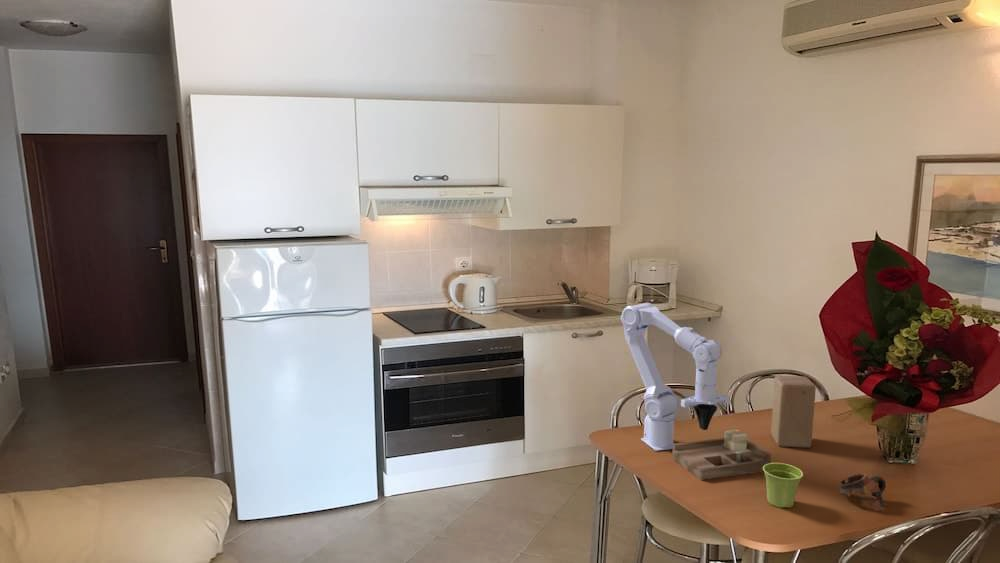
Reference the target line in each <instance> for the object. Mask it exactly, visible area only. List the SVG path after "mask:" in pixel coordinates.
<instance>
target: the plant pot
mask: <svg viewBox="0 0 1000 563" xmlns="http://www.w3.org/2000/svg"><path fill="white" fill-rule="evenodd" d="M763 471H764V477H765V481H766V482H765V484H766V500H767V501H768V503H769V504H770V505H771V506H774V507H776V508H780V509H781V508H783V509H784V508H788V509H789V508H792V507H793V506H794V503H795V499H796V495H797V491H798V487H799V483H800V482H801V480H802V478H803V477H804V472H803V471H802V469H800V468H798V467H796V466H794V465H791V464H787V463H782V462H770V463H769V464H766V465H764V466H763Z"/></svg>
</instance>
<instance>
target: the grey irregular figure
mask: <svg viewBox="0 0 1000 563" xmlns="http://www.w3.org/2000/svg"><path fill="white" fill-rule="evenodd" d="M846 480H847V481H846ZM846 480H845V479H842V480H841V481H839V483H838V485H839V488H840V489H839V494H840V495H846V496H847V497H849V498H851V497H852V496H851V494H852V492H853V491H854V492H855V493H858V494H859V495H865V492H864V489H865V488H864V487H866V488H867V490H868V491H869V492H870V493H871V495H872V497H874V498H876V500H874V501H873V502H872V503H871V505H872V507H873V510H874V512H878V511H881V509H883V508H884V506H885V504H884V500H883V496H882V494H883V493H884V492H885V490H886V487H887V486H886V485H887V483H886V481H885V479H884V478H883V477H882V476H880V475H875V476H872V477H869V476H868V474H867V473H862V472H861V473H857V474H854V475H850V476H848V477H847V478H846Z"/></svg>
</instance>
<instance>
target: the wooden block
mask: <svg viewBox="0 0 1000 563" xmlns="http://www.w3.org/2000/svg"><path fill="white" fill-rule="evenodd" d="M773 382H774V383H773V397H772V410H771V411H772V412H771V428H770V434H771V437H772V438H773V440H774V441H775V444H776V445H777V446H778V447H786V448H787V447H789V448H791V447H792V448H803V449H804V448H805V449H808V448H811V446H812V441H813V439H812V438H813V428H814V418H815V415H814V414H815V413H814V412H815V401H816V391H817V390H816V385H815V384H814V383H813V382H812V381H811V380H810V379H809V378H808V377H807V376H803V375H799V376H798V375H776V376H775V377H774V380H773Z"/></svg>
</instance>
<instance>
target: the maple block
mask: <svg viewBox="0 0 1000 563" xmlns="http://www.w3.org/2000/svg"><path fill="white" fill-rule="evenodd" d="M723 438H724V446H725V447H727V448H728V449H730V450H732V451H740V450H746V448H747V440H748V434H746V433H745V432H743V431H741V430H739V429H731V430H725V431H724V436H723Z"/></svg>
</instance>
